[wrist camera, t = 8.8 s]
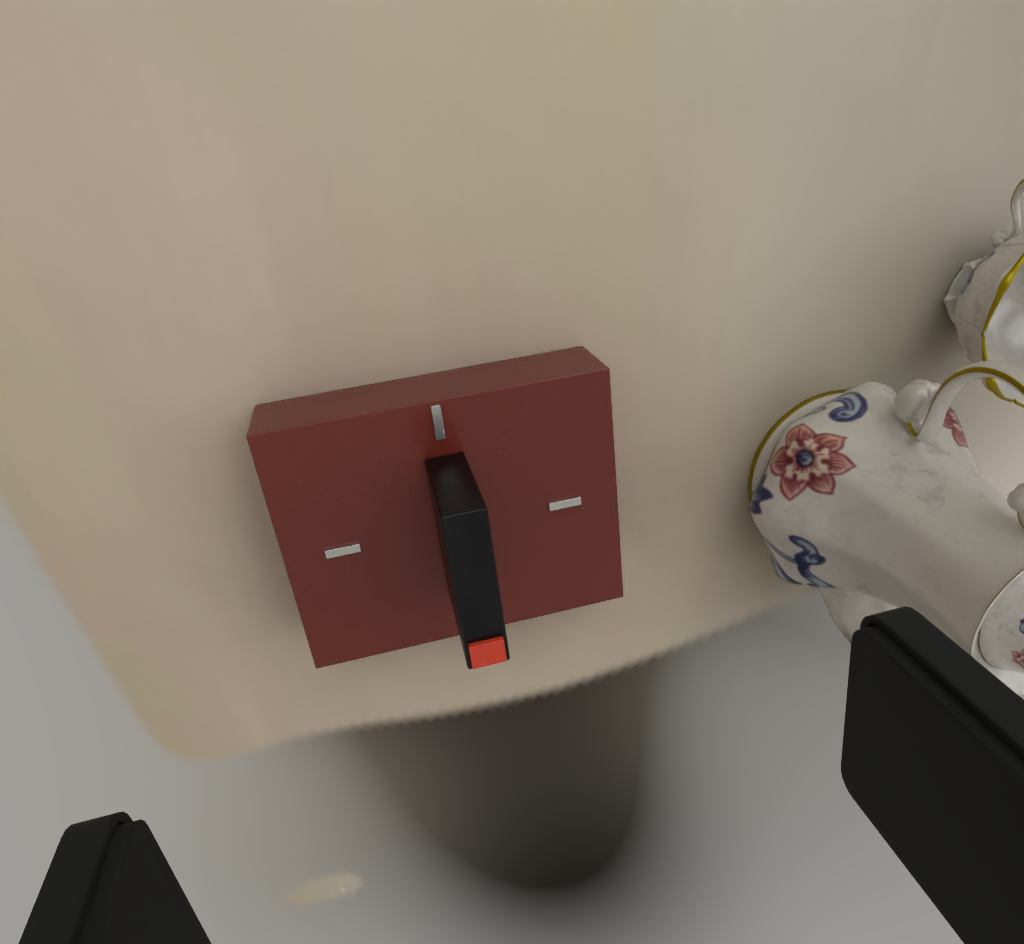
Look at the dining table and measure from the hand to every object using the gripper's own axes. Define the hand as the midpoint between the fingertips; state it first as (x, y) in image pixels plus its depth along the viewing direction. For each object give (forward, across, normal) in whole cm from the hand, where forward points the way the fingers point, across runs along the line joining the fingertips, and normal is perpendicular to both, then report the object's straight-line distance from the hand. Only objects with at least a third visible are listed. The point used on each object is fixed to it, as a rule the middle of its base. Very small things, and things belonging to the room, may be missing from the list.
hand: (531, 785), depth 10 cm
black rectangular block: (+19, 0, +7) cm, 21 cm away
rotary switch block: (+23, 0, +7) cm, 24 cm away
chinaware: (+24, -22, +11) cm, 34 cm away
